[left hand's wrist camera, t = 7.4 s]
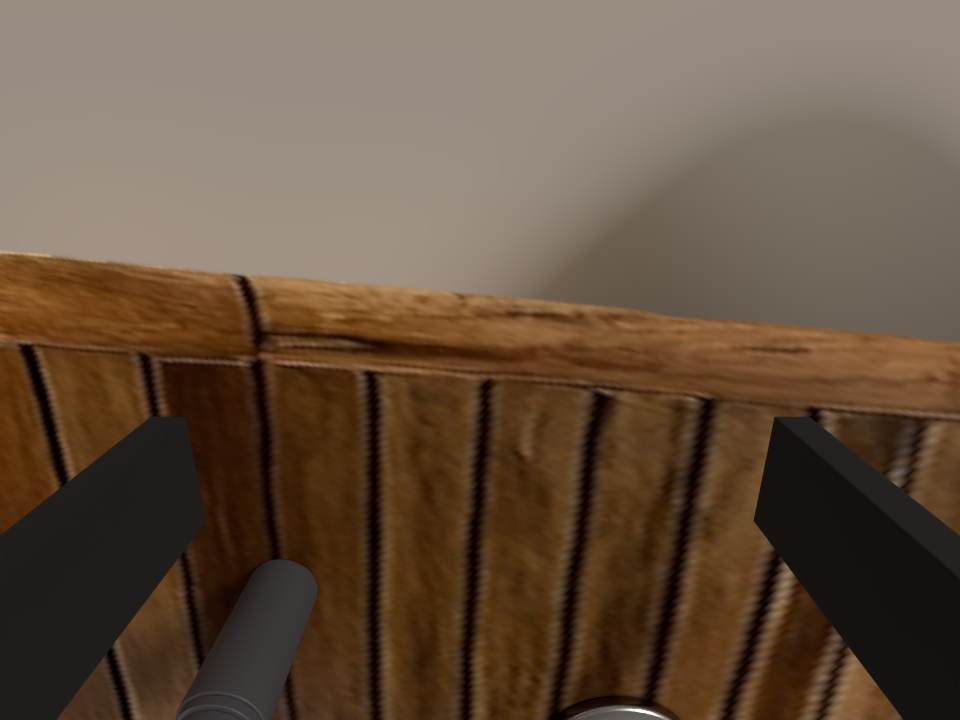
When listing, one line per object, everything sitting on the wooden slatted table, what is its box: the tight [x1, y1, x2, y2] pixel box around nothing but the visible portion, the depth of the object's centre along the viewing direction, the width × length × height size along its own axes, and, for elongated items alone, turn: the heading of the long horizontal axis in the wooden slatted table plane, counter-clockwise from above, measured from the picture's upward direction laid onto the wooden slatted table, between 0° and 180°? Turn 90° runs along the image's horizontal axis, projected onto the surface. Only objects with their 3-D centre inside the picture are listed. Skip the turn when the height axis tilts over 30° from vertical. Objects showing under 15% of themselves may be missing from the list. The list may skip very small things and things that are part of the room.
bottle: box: [176, 559, 318, 720], centre depth 40 cm, size 6×6×19 cm
